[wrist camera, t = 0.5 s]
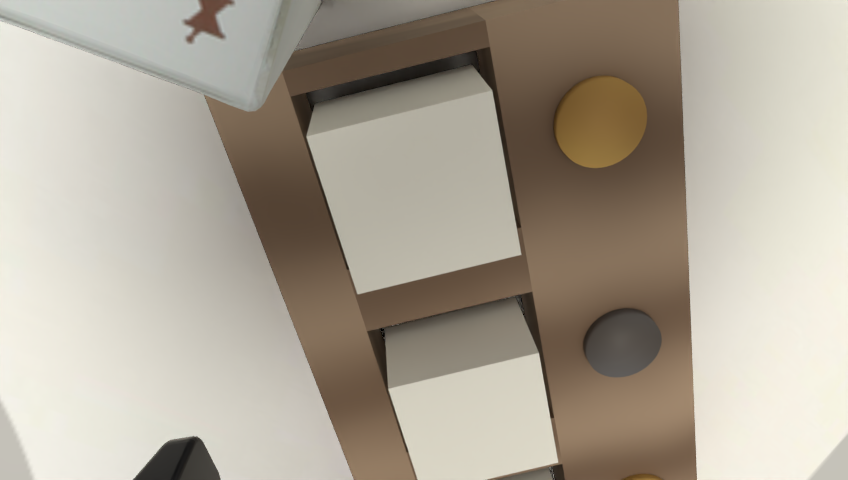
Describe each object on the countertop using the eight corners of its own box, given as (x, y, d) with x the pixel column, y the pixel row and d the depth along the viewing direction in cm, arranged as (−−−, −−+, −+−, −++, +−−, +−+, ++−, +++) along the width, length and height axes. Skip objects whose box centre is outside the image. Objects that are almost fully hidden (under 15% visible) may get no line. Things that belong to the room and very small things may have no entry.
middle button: (534, 398, 24) (558, 462, 21) (415, 426, 24) (422, 494, 21) (515, 296, 22) (538, 352, 19) (384, 328, 22) (388, 389, 19)
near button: (498, 208, 20) (521, 254, 17) (358, 242, 20) (357, 294, 17) (471, 64, 18) (492, 89, 15) (314, 103, 18) (306, 136, 15)
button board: (668, 484, 30) (703, 548, 27) (400, 547, 30) (404, 616, 27) (633, -35, 19) (683, -27, 16) (224, 69, 20) (199, 94, 17)
